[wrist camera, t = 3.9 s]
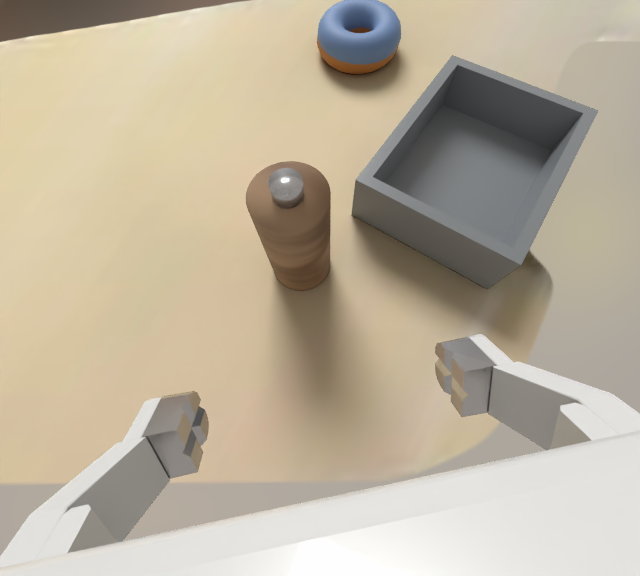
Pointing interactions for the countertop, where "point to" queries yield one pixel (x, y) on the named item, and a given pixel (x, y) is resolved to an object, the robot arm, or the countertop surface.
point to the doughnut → (358, 35)
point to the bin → (473, 170)
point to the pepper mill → (293, 222)
